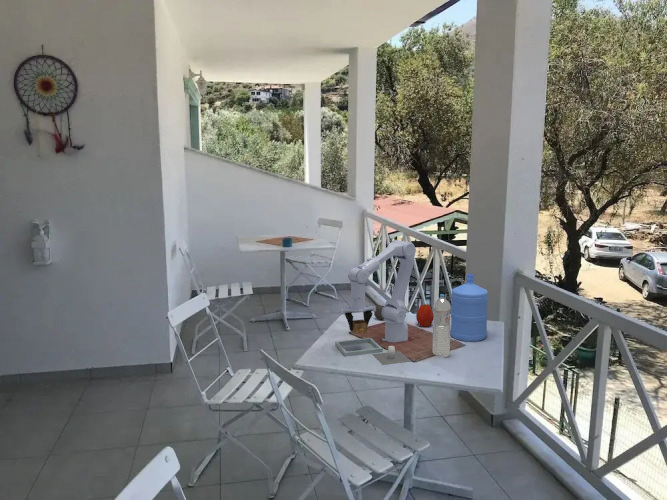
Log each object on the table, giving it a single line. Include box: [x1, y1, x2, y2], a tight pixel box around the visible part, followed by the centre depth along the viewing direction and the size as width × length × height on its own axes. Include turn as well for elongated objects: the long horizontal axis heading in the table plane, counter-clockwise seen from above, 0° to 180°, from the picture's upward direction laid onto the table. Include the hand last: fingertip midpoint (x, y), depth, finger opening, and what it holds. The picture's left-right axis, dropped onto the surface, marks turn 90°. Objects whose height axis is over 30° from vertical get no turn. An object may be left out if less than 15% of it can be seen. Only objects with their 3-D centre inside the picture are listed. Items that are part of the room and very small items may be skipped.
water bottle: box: [432, 293, 452, 358], centre depth 214 cm, size 7×7×25 cm
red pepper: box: [415, 303, 434, 328], centre depth 254 cm, size 8×8×11 cm
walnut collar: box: [349, 318, 368, 335], centre depth 219 cm, size 6×8×4 cm
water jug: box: [450, 273, 489, 342], centre depth 236 cm, size 16×16×28 cm
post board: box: [371, 345, 413, 366], centre depth 211 cm, size 12×12×6 cm
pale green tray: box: [334, 337, 384, 358], centre depth 222 cm, size 16×14×2 cm
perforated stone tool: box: [373, 304, 385, 321], centre depth 263 cm, size 15×5×7 cm, turn 59°
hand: (358, 329), depth 221 cm, fingers closed on walnut collar, 6 cm apart
